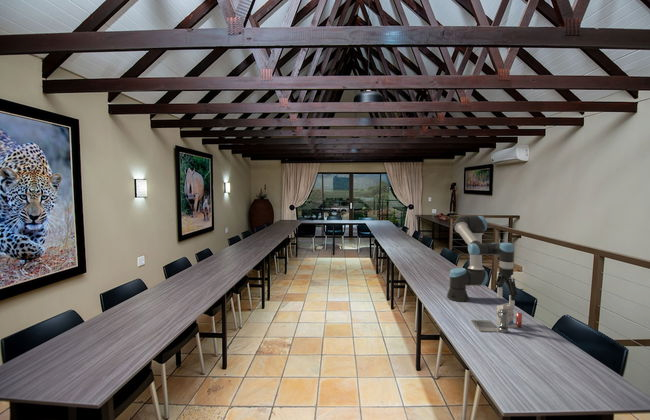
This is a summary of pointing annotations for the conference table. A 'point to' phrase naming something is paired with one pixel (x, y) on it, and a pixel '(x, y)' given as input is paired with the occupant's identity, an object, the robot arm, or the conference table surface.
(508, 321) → the ink box
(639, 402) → the conference table surface
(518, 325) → the lever
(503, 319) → the press
